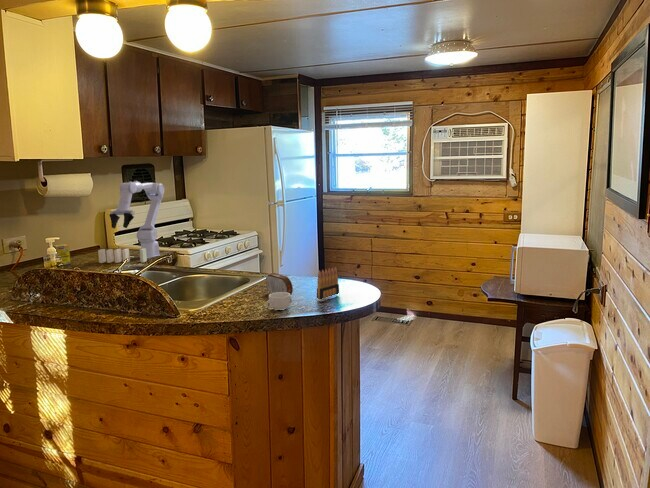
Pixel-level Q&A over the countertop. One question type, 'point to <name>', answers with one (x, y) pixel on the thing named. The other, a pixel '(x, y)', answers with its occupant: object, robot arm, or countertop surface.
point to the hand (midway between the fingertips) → (119, 227)
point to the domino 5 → (143, 255)
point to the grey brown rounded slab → (278, 283)
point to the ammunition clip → (327, 283)
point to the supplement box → (63, 253)
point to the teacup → (279, 300)
